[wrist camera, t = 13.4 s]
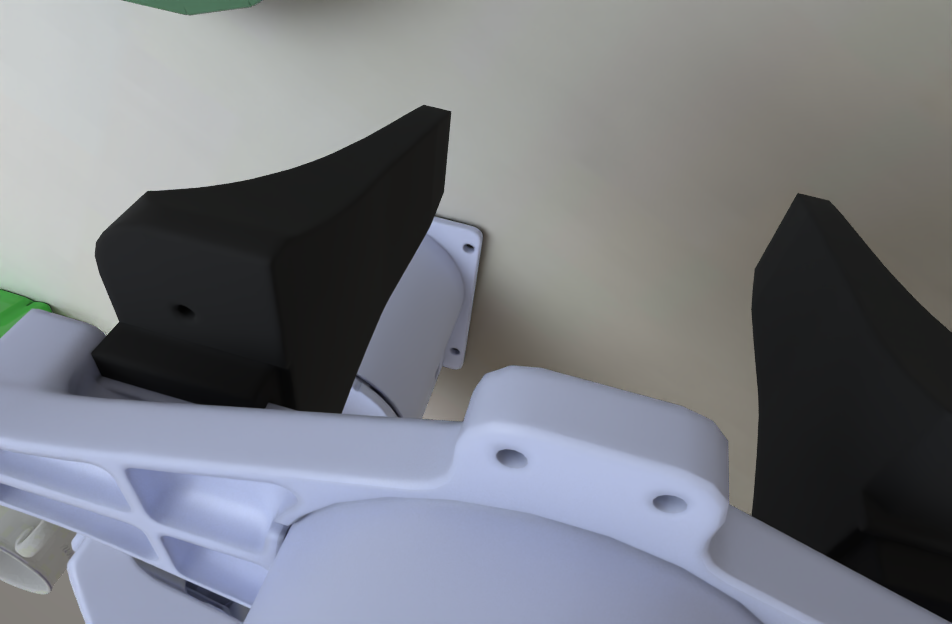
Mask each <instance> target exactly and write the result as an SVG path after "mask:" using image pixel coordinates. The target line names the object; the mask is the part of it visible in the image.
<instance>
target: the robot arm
mask: <svg viewBox="0 0 952 624" xmlns="http://www.w3.org/2000/svg"><path fill="white" fill-rule="evenodd" d="M450 120H451V111H447V110H443V109H439V108H435V107H430V106H426V105H423V106H421V107H419V108H417V109H415V110H413V111H411V112H410V113H408V114H406V115H404V116H403V117H401V118H399V119H398V120H396V121H394V122H393V123H391V124H389V125H387V126H385V127H384V128H382V129H380V130H378V131H376V132H375V133H373V134H371V135H369V136H368V137H366V138H364V139H362V140H360V141H357V142H355V143H353V144H351V145H349V146H347V147H345V148H343V149H341V150H339V151H337V152H335V153H332V154H330V155H328V156H325V157H323V158H320V159H318V160H315V161H313V162H310V163H307V164H304V165H301V166H298V167H295V168H292V169H289V170H285V171H281V172H278V173H274V174H270V175H266V176H262V177H258V178H254V179H250V180H245V181H240V182H234V183H229V184H222V185H215V186H208V187H200V188H189V189H176V190H162V191H147V192H146V193H145V194H144V195H143V196H141V197H140V198H139V199H138V200H137V201H136V202H135V203H134V204H133V205H132V206H131V207H130V208H129V209H127V210H126V211H125V212H124V213H123V214H122V215H121V216H120V217H119V218H118V219H117V220H116V221H115V222H113V223H112V224H111V225H110V226H109V227H108V228H107V229H106V230H105V231H104V232H103V233H102V234H101V236H100V237H99V239H98V240H97V242H96V248H95V258H96V262H97V266H98V270H99V273H100V276H101V278H102V281H103V283H104V286H105V288H106V290H107V293H108V295H109V298H110V300H111V303H112V305H113V307H114V310H115V312H116V315H117V317H118V320H119V323H118V324H117V325H116V326H115V327H114V328H113V329H112V330H111V332H110V333H109V334H108V335H107V336H106V335H105V334H104V333H103V332H102V331H101V330H99V329H98V328H97V327H95V326H93V325H91V324H89V323H86V322H83V321H79V320H76V319H72V318H69V317H65V316H62V315H58V314H55V313H51V312H48V311H44V310H41V309H31V310H30V311H29V312H28V313H27V314H26V315H24V316H23V317H22V318H21V319H20V320H19V321H18V322H17V323H16V324H15V325H14V326H13V327H12V328H11V329H10V330H9V331H8V332H6V333H5V334H4V335H3V336H2V337H1V338H0V505H1V506H4V507H7V508H10V509H13V510H16V511H19V512H22V513H25V514H28V515H31V516H34V517H36V518H39V519H42V520H45V521H47V522H50V523H52V524H55V525H58V526H60V527H63V528H65V529H68V530H71V531H73V532H76V533H77V534H76V536H75V537H74V538H73V540H72V542H71V546H72V550H73V551H75V553H74V554H73V556H72V557H71V559H70V560H69V561H68V563H67V571H68V575H69V579H70V583H71V586H72V588H73V591H74V593H75V596H76V599H77V602H78V604H79V607H80V610H81V613H82V615H83V618H84V621H85V623H86V624H952V332H950V331H949V330H948V329H947V328H946V327H945V326H944V325H943V324H941V323H940V322H939V321H938V320H937V319H936V318H935V317H933V316H932V315H931V314H930V313H929V312H928V311H927V310H926V309H925V308H924V307H923V306H922V305H921V304H920V303H919V302H918V301H917V300H916V299H915V298H914V297H913V296H912V295H911V294H910V293H909V292H908V291H907V290H906V289H905V288H904V287H903V286H902V285H901V284H900V283H899V282H898V280H897V279H896V278H895V277H894V276H893V275H892V274H891V273H890V272H889V270H888V269H887V268H886V267H885V266H884V265H883V264H882V262H881V261H880V260H879V259H878V258H877V256H876V255H875V254H874V253H873V252H872V251H871V249H870V248H869V247H868V246H867V244H866V243H865V242H864V241H863V240H862V238H861V237H860V236H859V235H858V233H857V232H856V231H855V230H854V228H853V227H852V226H851V225H850V224H849V222H848V221H847V220H846V219H845V218H844V216H843V215H842V214H841V213H840V212H839V211H838V209H837V208H836V207H835V206H834V205H833V204H832V203H831V202H830V201H829V200H824V199H820V198H816V197H812V196H807V195H803V194H799V193H798V194H797V195H796V197H795V199H794V201H793V202H792V204H791V206H790V208H789V209H788V211H787V213H786V215H785V217H784V218H783V220H782V222H781V224H780V225H779V227H778V229H777V231H776V233H775V234H774V236H773V238H772V240H771V241H770V243H769V245H768V247H767V248H766V250H765V252H764V254H763V256H762V257H761V259H760V261H759V263H758V264H757V266H756V268H755V273H754V283H753V294H752V309H751V310H752V325H753V338H754V351H755V362H756V374H757V386H758V402H759V422H758V443H757V460H756V473H755V486H754V497H753V507H752V516H750V515H749V514H747V513H745V512H743V511H741V510H739V509H737V508H735V507H734V506H732V505H730V504H729V459H728V440H727V439H726V437H725V436H724V435H723V433H722V432H721V431H720V429H719V428H718V427H717V425H716V424H715V423H714V421H712V420H710V419H709V418H707V417H704V416H702V415H700V414H698V413H696V412H694V411H692V410H690V409H687V408H685V407H683V406H681V405H677V404H673V403H670V402H666V401H662V400H659V399H655V398H651V397H648V396H644V395H640V394H637V393H633V392H629V391H626V390H622V389H618V388H615V387H611V386H607V385H603V384H600V383H596V382H592V381H589V380H585V379H581V378H578V377H574V376H570V375H567V374H563V373H559V372H556V371H552V370H548V369H545V368H537V367H527V366H516V365H512V366H508V367H505V368H502V369H498V370H495V371H492V372H489V373H486V374H485V375H484V376H483V377H482V379H481V380H480V382H479V383H478V385H477V386H476V388H475V389H474V391H473V394H472V397H471V400H470V403H469V406H468V409H467V412H466V415H465V418H464V421H463V422H460V421H445V420H430V419H422V417H423V415H424V412H425V409H426V407H427V404H428V402H429V399H430V397H431V394H432V391H433V389H434V386H435V384H436V381H437V378H438V376H439V373H440V371H441V368H442V366H443V367H447V368H451V369H460V368H461V367H462V365H463V363H464V358H465V352H466V345H467V338H468V332H469V325H470V319H471V312H472V306H473V299H474V293H475V286H476V280H477V273H478V267H479V260H480V254H481V247H482V240H483V234H482V232H481V231H480V230H479V229H478V228H476V227H474V226H470V225H466V224H462V223H458V222H454V221H450V220H446V219H442V218H439V217H435V214H436V211H437V208H438V206H439V203H440V201H441V198H442V195H443V193H444V185H445V174H446V163H447V152H448V142H449V131H450ZM466 244H470V245H472V246H473V247H474V248H470V247H468V246H467V245H466ZM455 348H456V349H455Z"/></svg>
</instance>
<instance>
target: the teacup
mask: <svg viewBox="0 0 952 624" xmlns="http://www.w3.org/2000/svg"><path fill="white" fill-rule="evenodd" d="M76 534H77V533H76V532H73V531H71V530H68V529H65V528H63V527H60V526H58V525H55V524H52V523H50V522H47V521H45V520H42V519H39V518H36V517H34V516H31V515H28V514H25V513H22V512H19V511H16V510H13V509H10V508H7V507H4V506H1V505H0V580H2V581H4V582H7V583H9V584H11V585H13V586H16V587H18V588H21V589H24V590H26V591H30V592H33V593H39V594H48V593H49V592H50V591H51V590H52V588H53V586H54V584H55V583H56V582H57V580H58V579H59V578H60V577H61V575H62V574H63V573H64V571H65V570H66V569H67V563H68V561H69V560H70V559H71V557H72V556H73V554H74V553H75V551H73V550H72V546H71V542H72V540H73V538H74V537H75V536H76Z"/></svg>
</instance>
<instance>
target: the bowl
mask: <svg viewBox="0 0 952 624" xmlns="http://www.w3.org/2000/svg"><path fill="white" fill-rule="evenodd" d="M123 1H127V2H132V3H136V4H140V5H145V6H149V7H153V8H158V9H162V10H166V11H171V12H175V13H179V14H184V15H197V14H204V13H211V12H219V11H226V10H233V9H241V8H248V7H252V6H255V5H257V4H258V3H260V2H261V1H263V0H123Z"/></svg>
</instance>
